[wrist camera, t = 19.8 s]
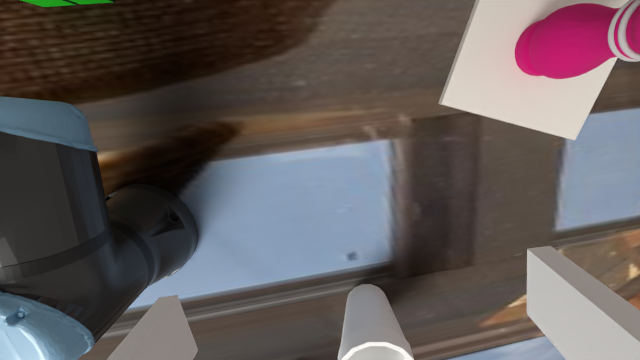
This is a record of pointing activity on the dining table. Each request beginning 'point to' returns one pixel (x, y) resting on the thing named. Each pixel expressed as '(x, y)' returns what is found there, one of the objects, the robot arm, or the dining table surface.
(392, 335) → the foam cup
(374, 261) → the dining table surface
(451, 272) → the dining table surface
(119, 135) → the dining table surface
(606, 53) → the pepper mill
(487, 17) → the tile
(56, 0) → the puzzle cube
